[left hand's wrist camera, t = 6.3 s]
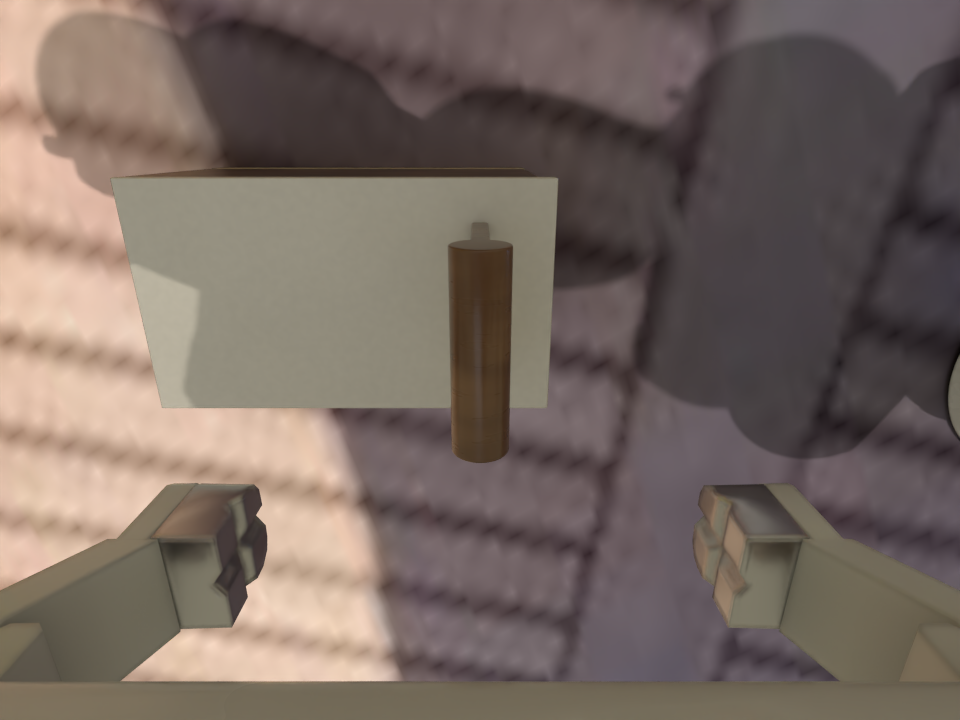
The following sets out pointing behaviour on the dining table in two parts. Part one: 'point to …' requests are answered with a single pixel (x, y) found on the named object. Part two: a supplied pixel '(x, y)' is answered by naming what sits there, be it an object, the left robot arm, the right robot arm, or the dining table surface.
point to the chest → (349, 172)
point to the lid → (348, 293)
